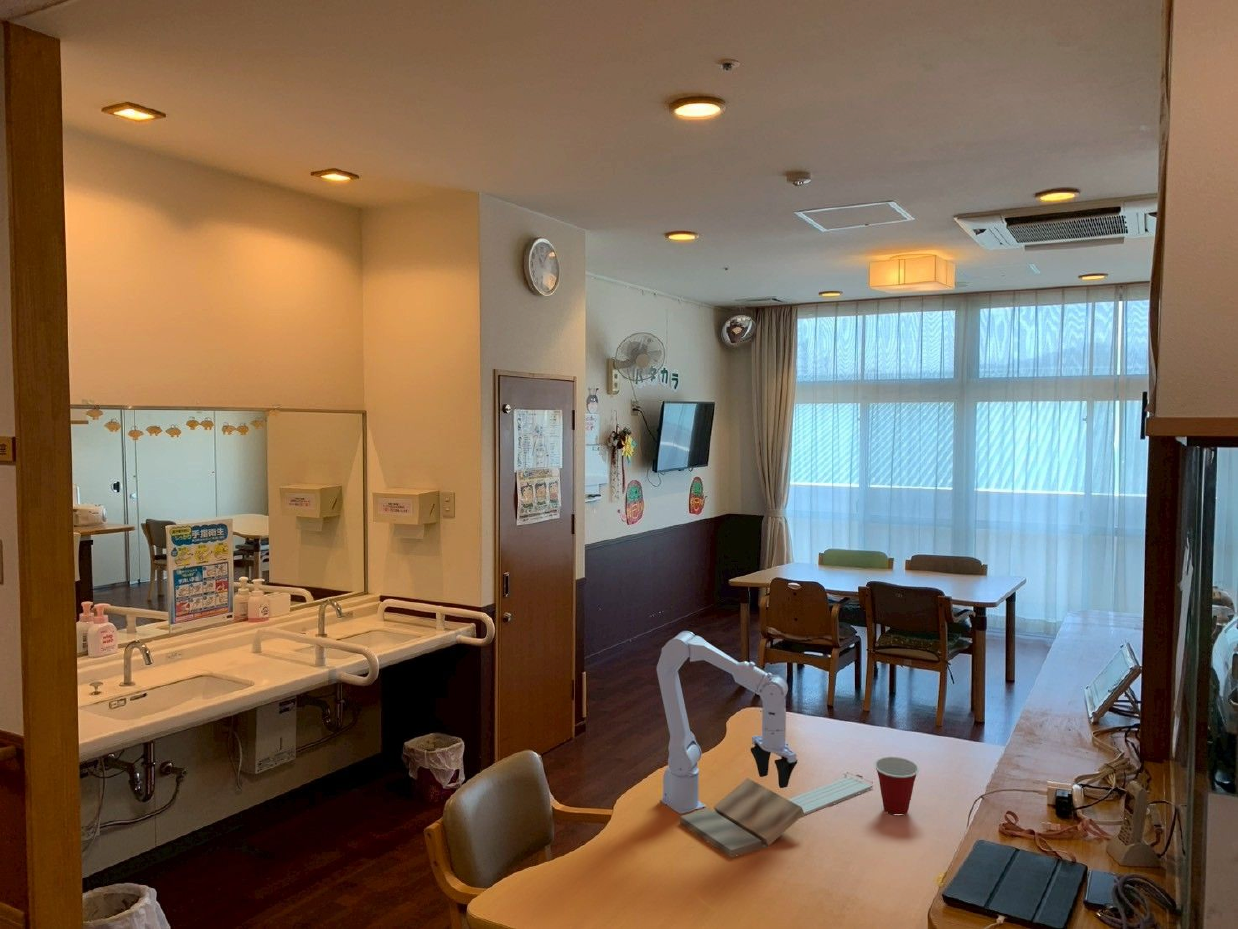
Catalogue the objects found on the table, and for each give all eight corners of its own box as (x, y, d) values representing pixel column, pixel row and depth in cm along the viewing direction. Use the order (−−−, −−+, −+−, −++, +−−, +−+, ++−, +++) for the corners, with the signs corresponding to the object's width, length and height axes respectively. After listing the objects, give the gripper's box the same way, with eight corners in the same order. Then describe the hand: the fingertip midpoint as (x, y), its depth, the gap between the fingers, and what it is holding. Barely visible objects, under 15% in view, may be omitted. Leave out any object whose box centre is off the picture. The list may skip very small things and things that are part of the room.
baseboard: (767, 807, 231) (797, 821, 223) (767, 796, 231) (797, 810, 223) (842, 778, 250) (872, 791, 242) (843, 768, 249) (873, 780, 242)
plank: (716, 813, 226) (713, 806, 225) (750, 784, 231) (747, 778, 231) (768, 846, 209) (766, 839, 208) (804, 814, 214) (801, 807, 214)
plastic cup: (870, 816, 225) (871, 769, 224) (875, 799, 235) (876, 754, 234) (916, 824, 221) (917, 776, 220) (919, 806, 231) (920, 760, 230)
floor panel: (680, 824, 220) (680, 816, 220) (714, 814, 226) (714, 806, 226) (731, 858, 203) (731, 850, 203) (766, 847, 209) (766, 839, 209)
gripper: (806, 733, 217) (805, 788, 218) (767, 715, 229) (767, 768, 230) (783, 738, 213) (783, 794, 214) (745, 720, 226) (745, 773, 227)
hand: (773, 781), depth 222 cm, fingers open, 7 cm apart
